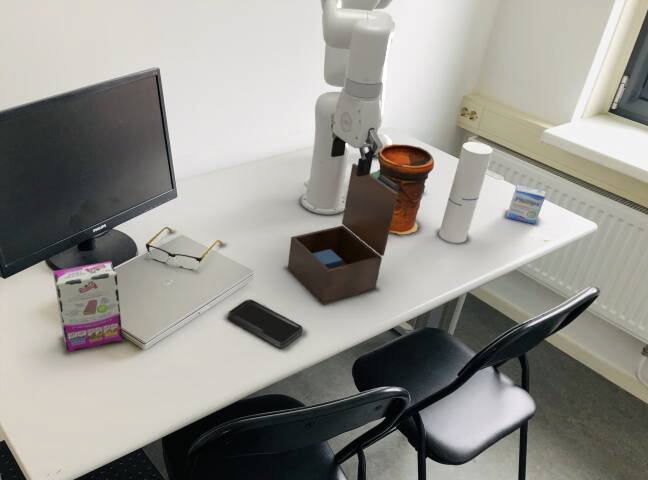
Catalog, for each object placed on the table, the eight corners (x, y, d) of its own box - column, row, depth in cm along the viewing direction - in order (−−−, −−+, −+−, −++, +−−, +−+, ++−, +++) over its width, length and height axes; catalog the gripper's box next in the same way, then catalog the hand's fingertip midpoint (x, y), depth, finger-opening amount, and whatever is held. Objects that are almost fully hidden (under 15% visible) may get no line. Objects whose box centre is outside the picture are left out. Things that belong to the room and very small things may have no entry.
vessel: (360, 228, 175) (373, 158, 163) (372, 205, 186) (385, 138, 174) (413, 241, 171) (430, 171, 159) (423, 217, 182) (439, 150, 170)
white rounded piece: (362, 155, 214) (366, 133, 209) (376, 149, 218) (380, 128, 214) (387, 165, 208) (391, 144, 204) (401, 160, 213) (405, 138, 208)
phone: (249, 298, 144) (304, 327, 137) (248, 302, 144) (304, 331, 137) (225, 313, 139) (282, 345, 132) (225, 318, 139) (281, 349, 132)
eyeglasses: (144, 259, 156) (143, 245, 153) (171, 231, 167) (171, 217, 164) (198, 274, 152) (199, 259, 150) (222, 244, 163) (223, 230, 161)
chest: (323, 304, 146) (328, 271, 141) (287, 268, 157) (291, 237, 151) (375, 289, 152) (382, 257, 147) (337, 255, 163) (342, 225, 157)
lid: (395, 193, 137) (415, 189, 140) (352, 163, 148) (372, 160, 150) (381, 256, 146) (400, 251, 149) (341, 223, 157) (360, 219, 159)
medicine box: (506, 218, 185) (515, 190, 180) (507, 211, 188) (516, 184, 183) (535, 224, 183) (545, 197, 178) (536, 217, 186) (546, 190, 181)
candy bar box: (117, 326, 135) (112, 259, 125) (123, 341, 131) (118, 273, 122) (61, 337, 131) (52, 269, 121) (66, 353, 127) (56, 284, 118)
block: (309, 275, 154) (312, 253, 150) (327, 270, 156) (330, 249, 152) (320, 286, 150) (324, 264, 147) (338, 281, 152) (342, 259, 149)
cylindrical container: (466, 244, 171) (494, 155, 157) (439, 240, 172) (463, 151, 157) (465, 231, 177) (491, 144, 162) (438, 227, 178) (462, 140, 163)
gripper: (323, 74, 135) (314, 151, 146) (373, 104, 123) (358, 186, 134) (353, 71, 138) (341, 146, 149) (404, 100, 127) (387, 180, 137)
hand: (349, 165), depth 141 cm, fingers open, 9 cm apart
